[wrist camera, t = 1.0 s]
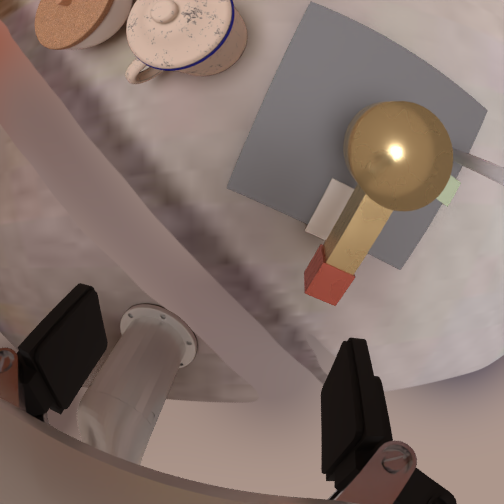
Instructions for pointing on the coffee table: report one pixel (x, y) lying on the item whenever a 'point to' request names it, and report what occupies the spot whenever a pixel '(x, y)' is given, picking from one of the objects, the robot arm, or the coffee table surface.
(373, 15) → the coffee table surface
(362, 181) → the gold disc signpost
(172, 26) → the teacup with lid
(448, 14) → the coffee table surface
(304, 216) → the plate
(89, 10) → the lidded jar
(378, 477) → the robot arm
